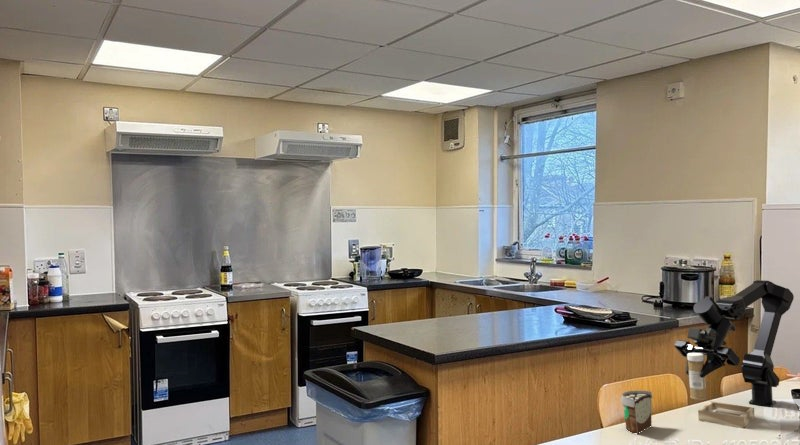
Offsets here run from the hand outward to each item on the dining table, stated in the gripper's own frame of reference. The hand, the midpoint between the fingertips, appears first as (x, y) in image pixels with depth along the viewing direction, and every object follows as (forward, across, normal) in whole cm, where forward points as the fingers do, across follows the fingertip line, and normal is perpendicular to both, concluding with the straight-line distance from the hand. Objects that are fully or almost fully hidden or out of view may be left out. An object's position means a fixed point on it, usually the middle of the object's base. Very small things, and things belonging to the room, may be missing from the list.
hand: (693, 375), depth 182 cm
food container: (+24, -4, -6) cm, 25 cm away
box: (+4, +4, +15) cm, 16 cm away
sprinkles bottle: (+4, 0, +6) cm, 7 cm away
